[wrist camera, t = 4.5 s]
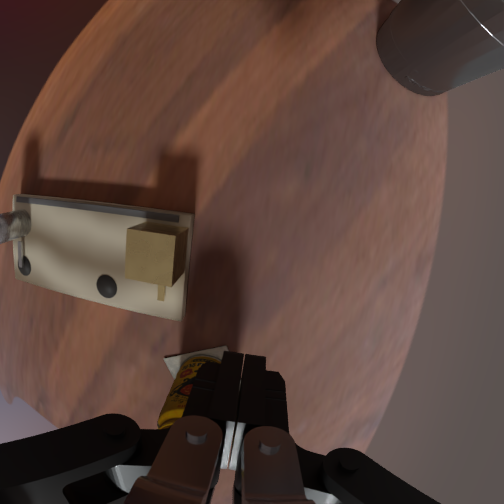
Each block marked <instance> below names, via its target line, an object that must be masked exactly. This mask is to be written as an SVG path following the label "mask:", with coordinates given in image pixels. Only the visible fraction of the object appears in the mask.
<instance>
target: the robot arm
mask: <svg viewBox="0 0 504 504" xmlns="http://www.w3.org/2000/svg"><path fill="white" fill-rule="evenodd" d="M377 49H378V53H379V56H380V58H381V61H382V63H383V64H384V66H385V68H386V69H387V70H388V72H389V73H390V74H391V75H392V77H393V78H394V79H396V80H397V81H398V82H399V83H400V84H401V85H403V86H404V87H406V88H407V89H408V90H411V91H413V92H415V93H417V94H421V95H424V96H435V95H439V94H442V93H444V92H446V91H449V90H451V89H453V88H456V87H458V86H461V85H463V84H466V83H468V82H470V81H473V80H475V79H478V78H480V77H482V76H485V75H488V74H490V73H493V72H496V71H498V70H501V69H503V68H504V0H401V1H400V2H399V3H398V5H397V6H396V7H395V8H394V10H393V11H392V12H391V14H390V16H389V18H388V19H387V20H386V22H385V23H384V24H383V25H382V27H381V28H380V30H379V32H378V35H377ZM243 357H244V354H242V353H236V352H230V351H224V352H223V356H222V360H221V364H219V363H213V362H208V361H207V362H206V363H204V364H203V365H202V366H201V367H200V368H198V371H197V374H196V377H195V380H194V383H193V386H192V388H191V391H190V394H189V397H188V400H187V403H186V406H185V409H184V412H183V415H182V417H181V418H180V419H178V420H176V421H175V422H174V423H173V424H172V426H171V427H168V428H165V429H156V430H154V429H140V428H139V426H138V424H137V423H136V422H135V421H134V420H132V419H131V418H129V417H127V416H125V415H121V414H105V415H102V416H99V417H96V418H93V419H90V420H87V421H83V422H80V423H77V424H74V425H71V426H67V427H64V428H61V429H57V430H54V431H50V432H47V433H43V434H39V435H36V436H32V437H28V438H24V439H20V440H15V441H11V442H7V443H2V444H0V504H211V500H212V497H213V493H214V490H215V485H216V484H217V482H218V479H219V474H220V468H224V469H227V464H228V458H229V453H230V448H231V442H232V448H231V456H230V463H229V469H231V470H236V472H235V481H234V485H233V490H232V504H441V503H439V502H437V501H435V500H434V499H432V498H430V497H429V496H427V495H425V494H424V493H422V492H420V491H419V490H417V489H416V488H414V487H412V486H411V485H409V484H408V483H406V482H405V481H403V480H401V479H400V478H398V477H397V476H395V475H394V474H392V473H391V472H389V471H388V470H386V469H385V468H383V467H382V466H380V465H379V464H378V463H376V462H374V461H373V460H372V459H370V458H369V457H368V456H366V455H365V454H363V453H362V452H360V451H358V450H355V449H351V448H338V449H335V450H332V451H330V452H329V453H328V454H327V455H326V456H325V455H321V454H317V453H313V452H310V451H307V450H305V449H303V448H301V447H300V446H298V445H297V444H296V443H295V441H294V439H293V438H292V437H291V435H290V434H289V427H288V413H287V401H286V393H285V392H286V388H285V381H284V379H283V378H282V376H281V375H280V374H279V372H275V371H267V370H266V357H264V356H256V355H249V354H245V360H244V366H243V371H242V365H243ZM241 373H242V377H241ZM240 380H241V383H240ZM239 388H240V389H239ZM233 431H234V433H233ZM232 437H233V441H232Z"/></svg>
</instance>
